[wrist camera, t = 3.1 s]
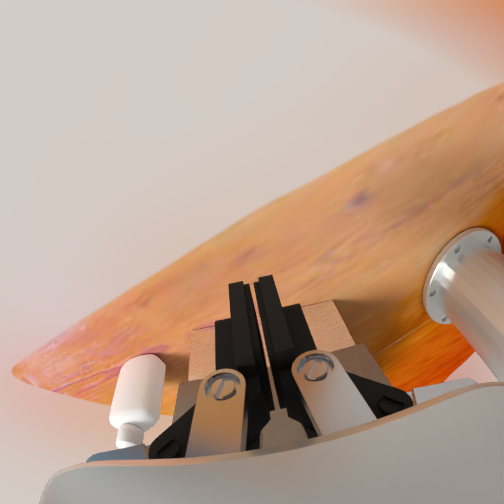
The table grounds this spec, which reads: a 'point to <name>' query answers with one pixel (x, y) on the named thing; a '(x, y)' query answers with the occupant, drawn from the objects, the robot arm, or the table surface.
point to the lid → (280, 424)
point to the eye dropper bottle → (137, 399)
